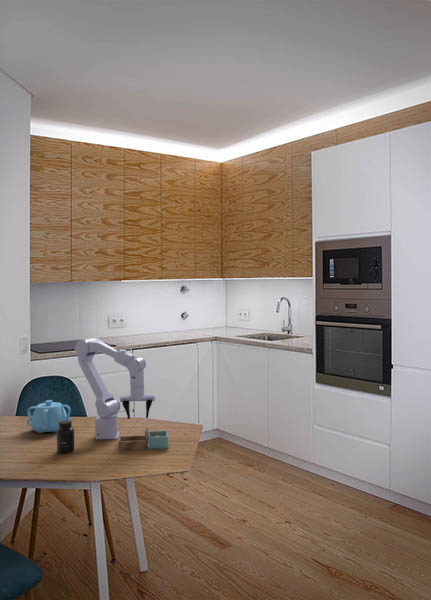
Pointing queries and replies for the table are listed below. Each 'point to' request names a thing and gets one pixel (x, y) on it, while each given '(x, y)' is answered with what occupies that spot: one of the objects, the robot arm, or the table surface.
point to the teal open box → (158, 440)
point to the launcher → (132, 443)
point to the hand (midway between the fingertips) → (138, 418)
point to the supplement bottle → (65, 437)
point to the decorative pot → (48, 416)
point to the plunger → (147, 435)
